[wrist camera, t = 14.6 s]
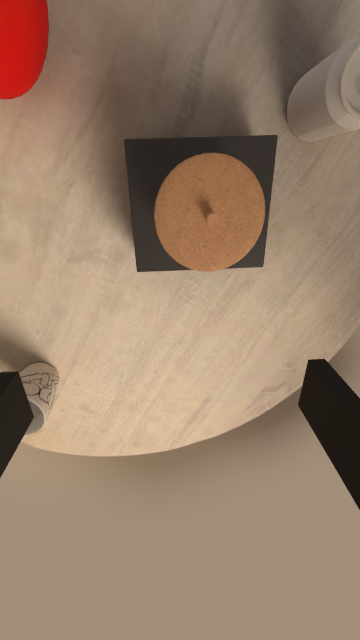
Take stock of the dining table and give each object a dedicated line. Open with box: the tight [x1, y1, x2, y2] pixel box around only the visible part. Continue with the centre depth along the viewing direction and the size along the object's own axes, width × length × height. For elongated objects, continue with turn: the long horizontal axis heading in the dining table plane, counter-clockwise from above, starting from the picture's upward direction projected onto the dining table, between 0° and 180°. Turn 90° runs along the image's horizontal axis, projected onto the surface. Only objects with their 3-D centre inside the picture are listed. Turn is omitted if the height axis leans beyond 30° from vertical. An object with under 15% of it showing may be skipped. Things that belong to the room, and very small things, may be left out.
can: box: [287, 33, 360, 142], centre depth 30 cm, size 8×8×12 cm
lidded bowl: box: [154, 153, 265, 271], centre depth 29 cm, size 11×11×9 cm
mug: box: [0, 363, 59, 435], centre depth 47 cm, size 11×8×10 cm
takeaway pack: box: [124, 135, 277, 272], centre depth 37 cm, size 17×15×7 cm
